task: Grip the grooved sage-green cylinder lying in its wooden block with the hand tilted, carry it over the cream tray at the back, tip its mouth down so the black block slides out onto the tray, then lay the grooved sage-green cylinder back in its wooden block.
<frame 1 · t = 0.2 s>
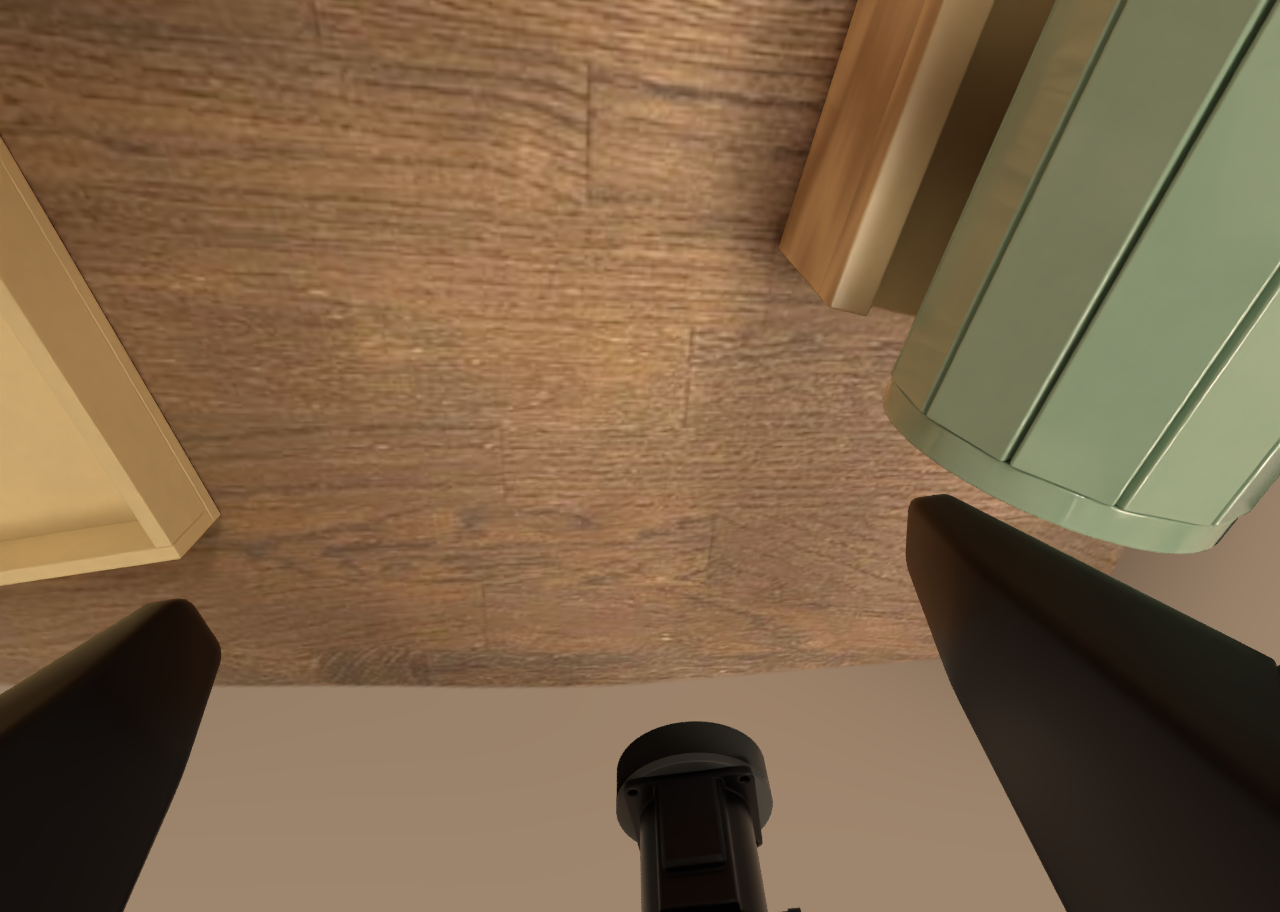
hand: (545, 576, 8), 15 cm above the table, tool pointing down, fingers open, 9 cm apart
grooved sage-green cylinder: (1189, 196, 12), point 8 cm above the table, touching black block, wooden block
wooden block: (977, 148, 20), on the table
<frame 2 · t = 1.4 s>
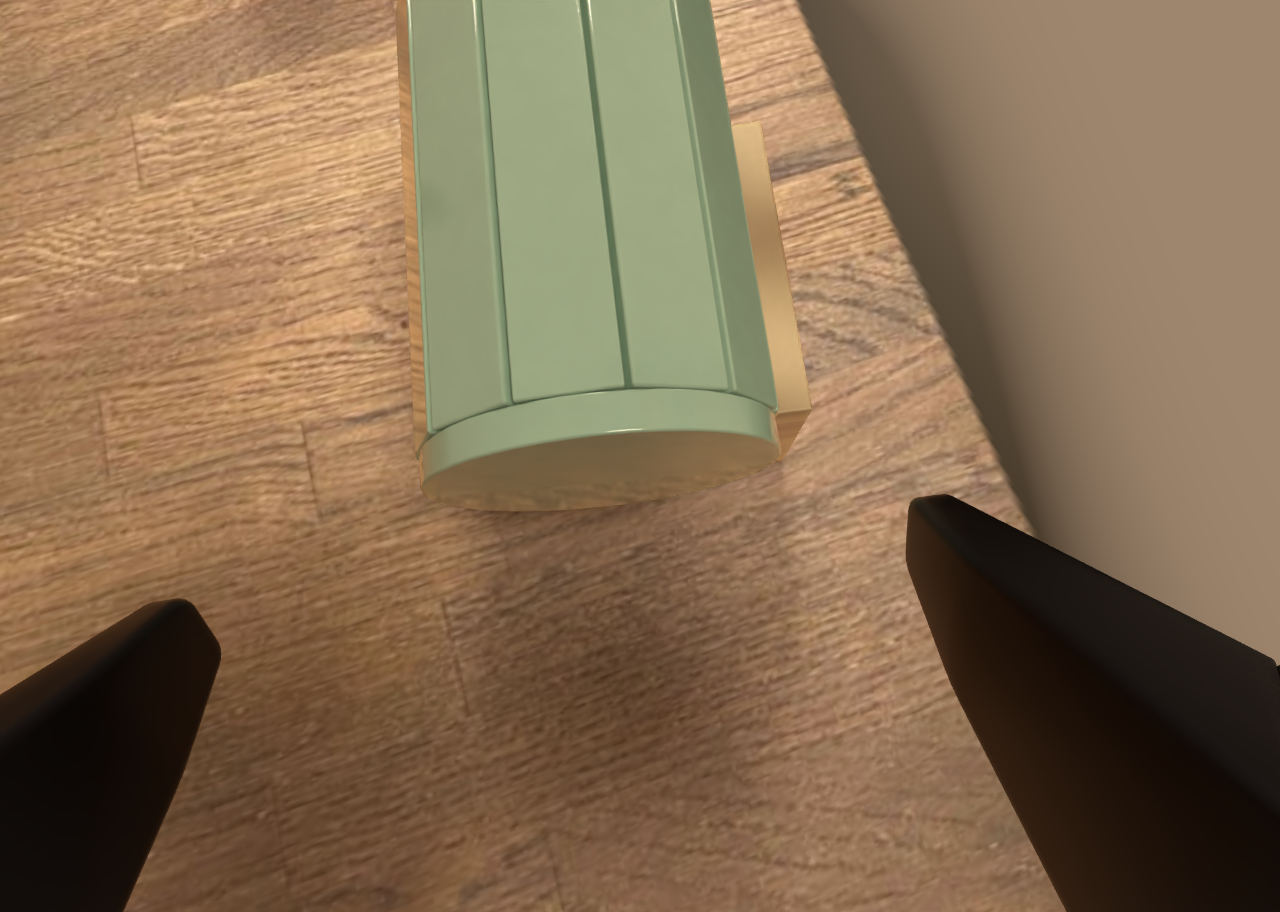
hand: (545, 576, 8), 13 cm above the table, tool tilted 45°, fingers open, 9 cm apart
grooved sage-green cylinder: (578, 233, 15), point 8 cm above the table, touching black block, wooden block
wooden block: (622, 365, 23), on the table
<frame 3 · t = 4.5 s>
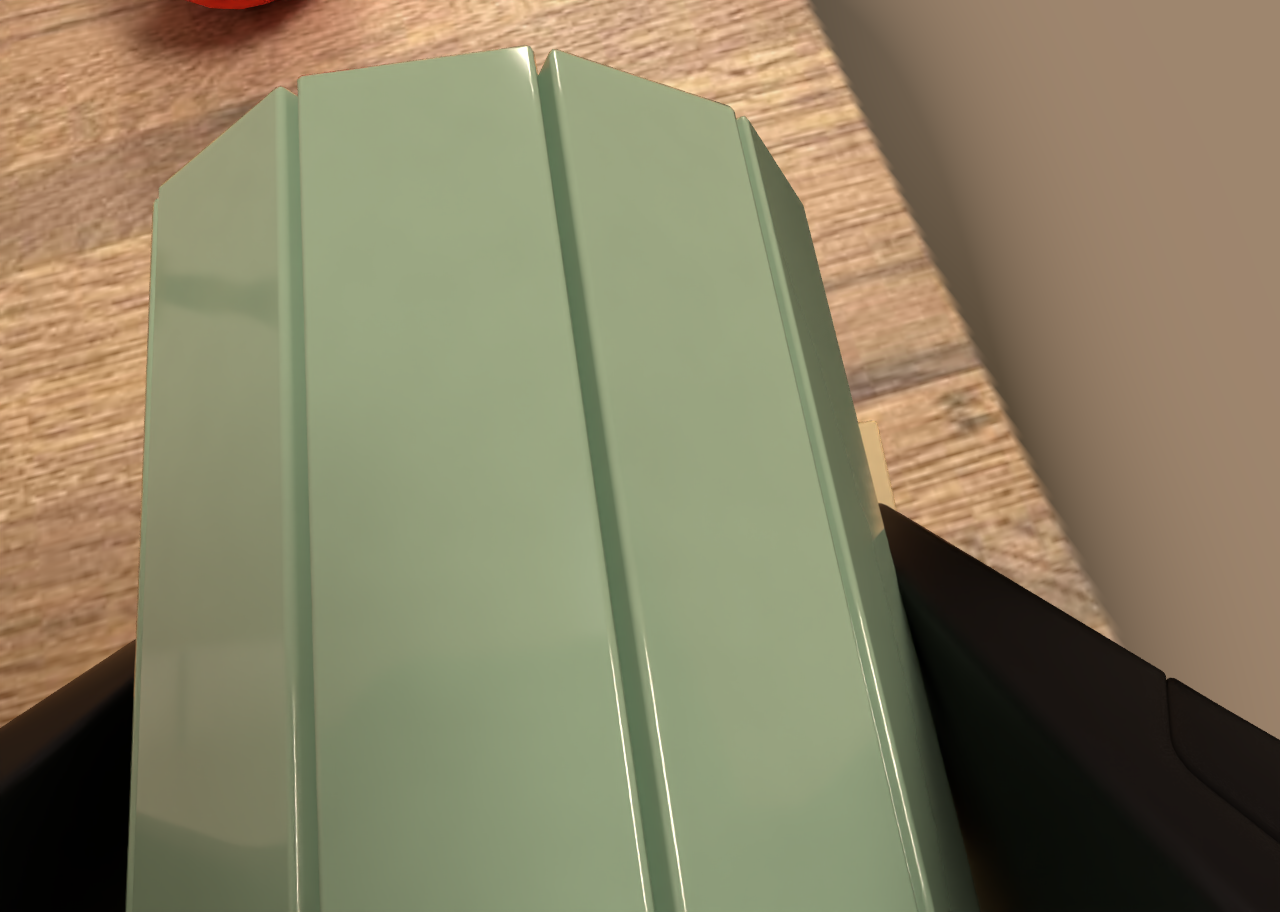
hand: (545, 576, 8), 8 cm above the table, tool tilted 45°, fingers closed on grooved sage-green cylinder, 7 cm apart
grooved sage-green cylinder: (565, 773, 7), point 9 cm above the table, touching black block, wooden block, gripper
wooden block: (634, 697, 15), on the table
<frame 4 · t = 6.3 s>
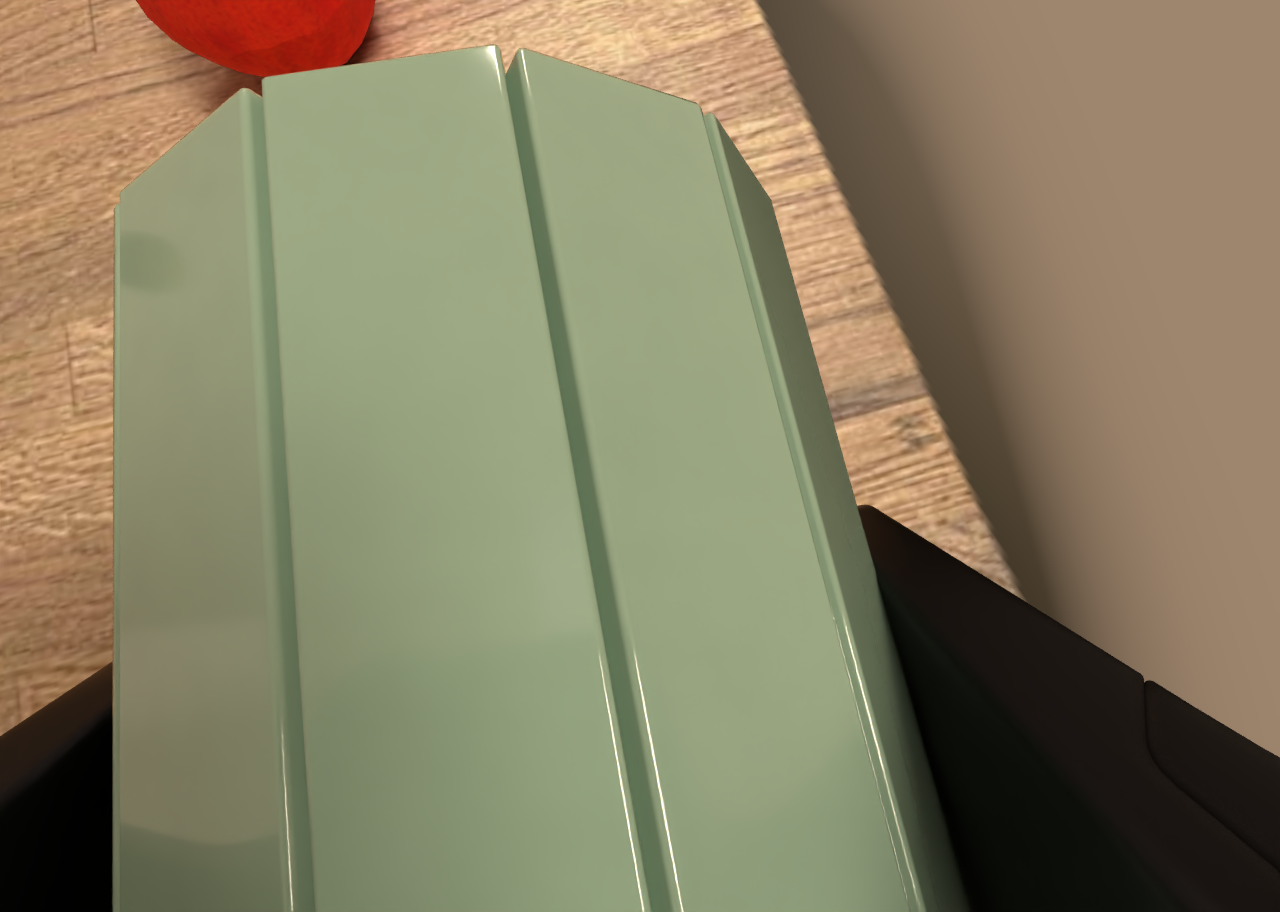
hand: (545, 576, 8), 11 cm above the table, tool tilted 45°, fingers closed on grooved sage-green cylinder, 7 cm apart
grooved sage-green cylinder: (553, 769, 7), point 12 cm above the table, tilted 6°, touching black block, gripper
apple: (317, 44, 25), on the table
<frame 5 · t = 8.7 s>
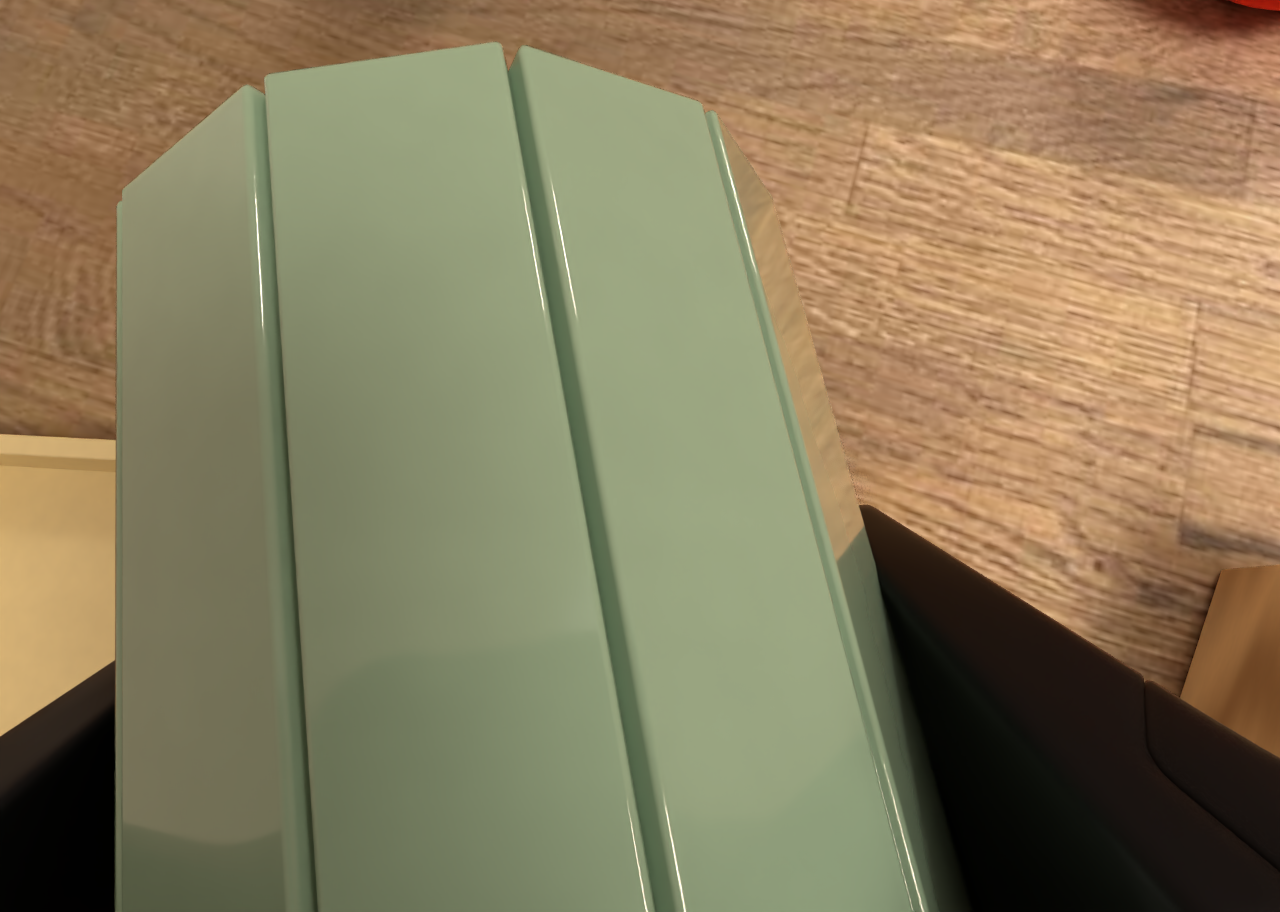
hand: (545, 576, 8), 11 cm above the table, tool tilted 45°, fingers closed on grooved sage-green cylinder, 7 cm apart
tray: (112, 709, 20), on the table
grooved sage-green cylinder: (554, 766, 7), point 12 cm above the table, tilted 6°, touching black block, gripper
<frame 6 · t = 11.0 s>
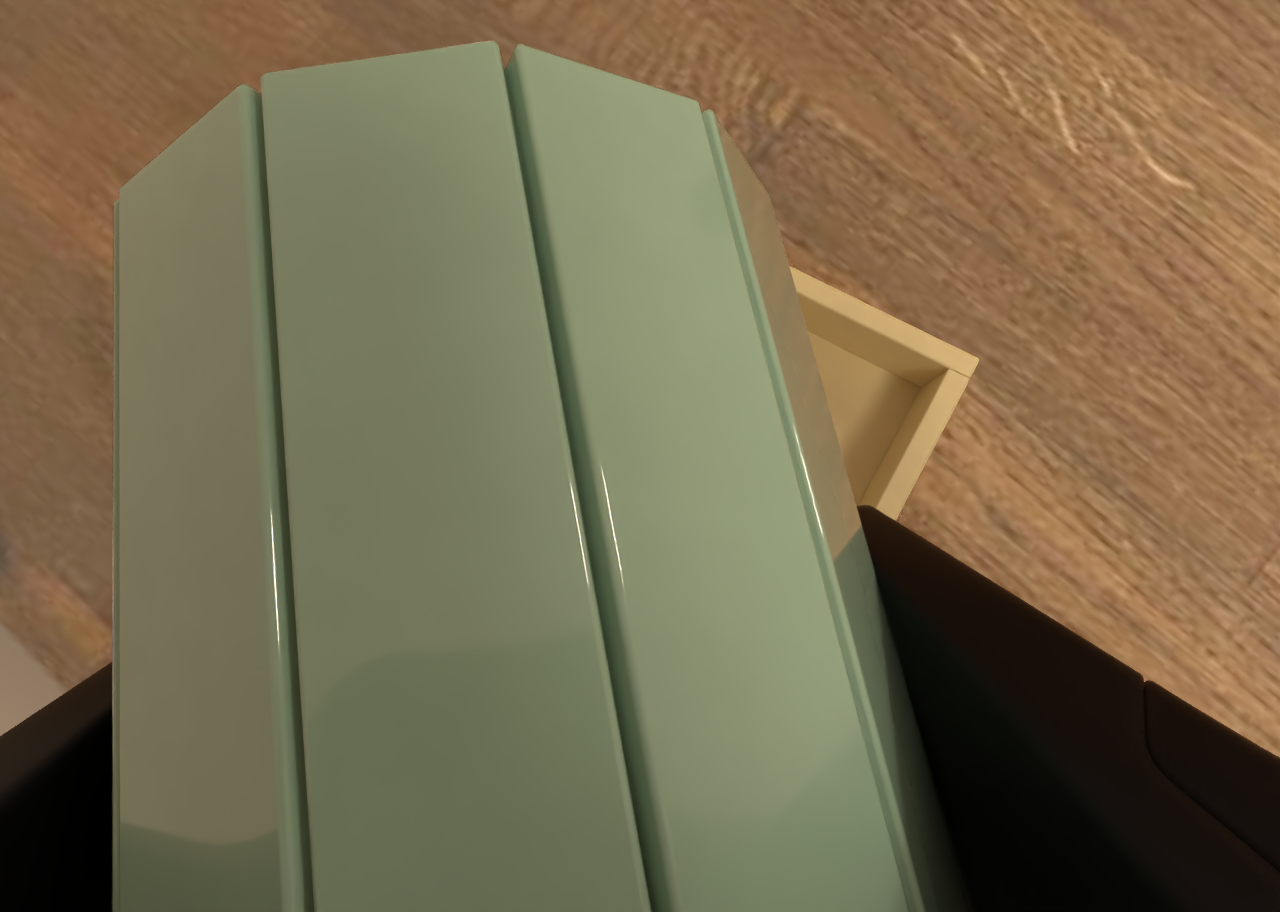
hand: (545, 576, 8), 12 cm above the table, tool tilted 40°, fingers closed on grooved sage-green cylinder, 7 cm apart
tray: (623, 500, 20), on the table
grooved sage-green cylinder: (552, 765, 7), point 13 cm above the table, tilted 9°, touching black block, gripper
when the fingers open (8 cm above the table, at t = 21.9 s): grooved sage-green cylinder stays where it is, resting on wooden block.
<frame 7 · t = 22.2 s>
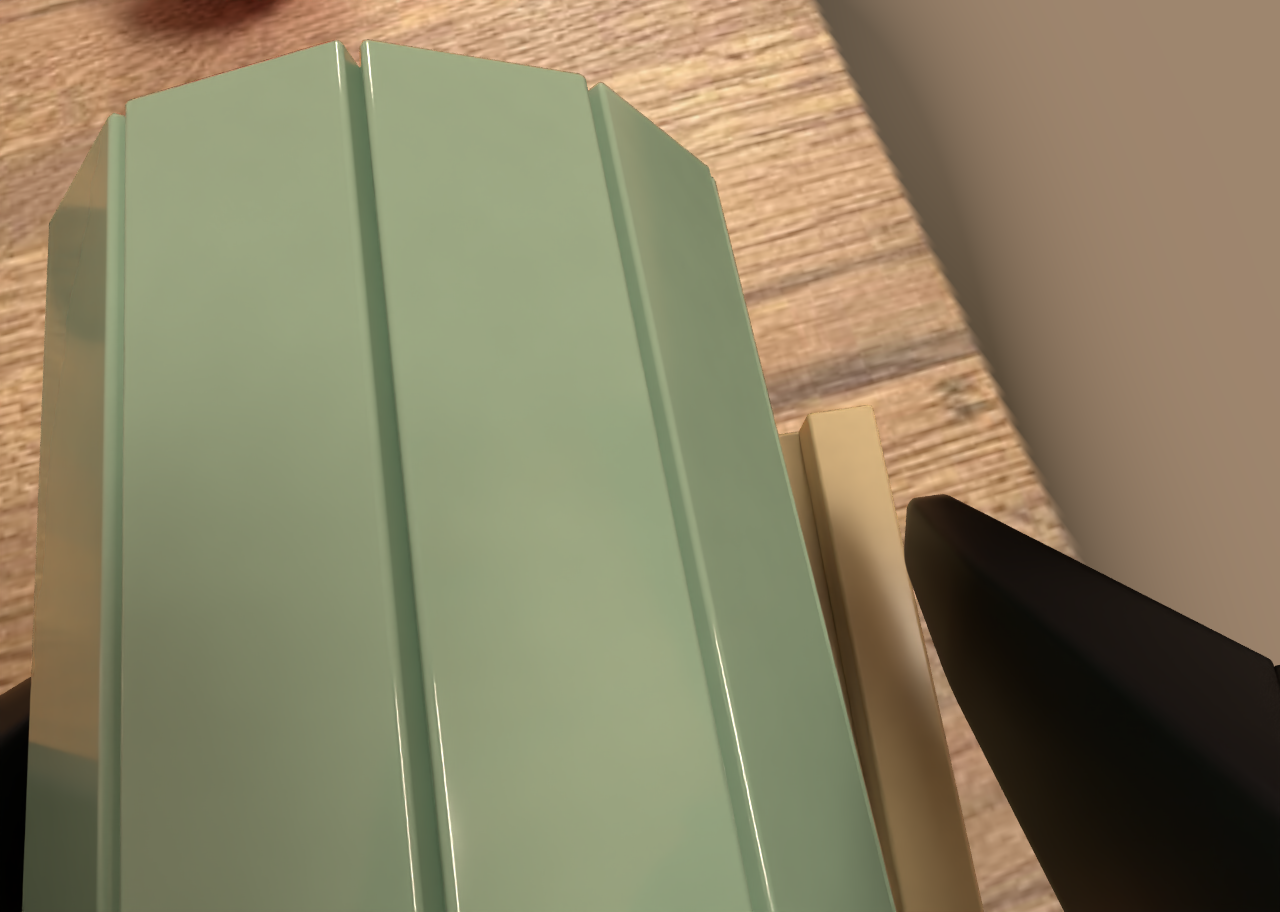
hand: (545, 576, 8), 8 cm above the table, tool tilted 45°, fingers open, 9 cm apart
grooved sage-green cylinder: (495, 764, 7), point 9 cm above the table, touching wooden block, gripper
wooden block: (630, 683, 15), on the table
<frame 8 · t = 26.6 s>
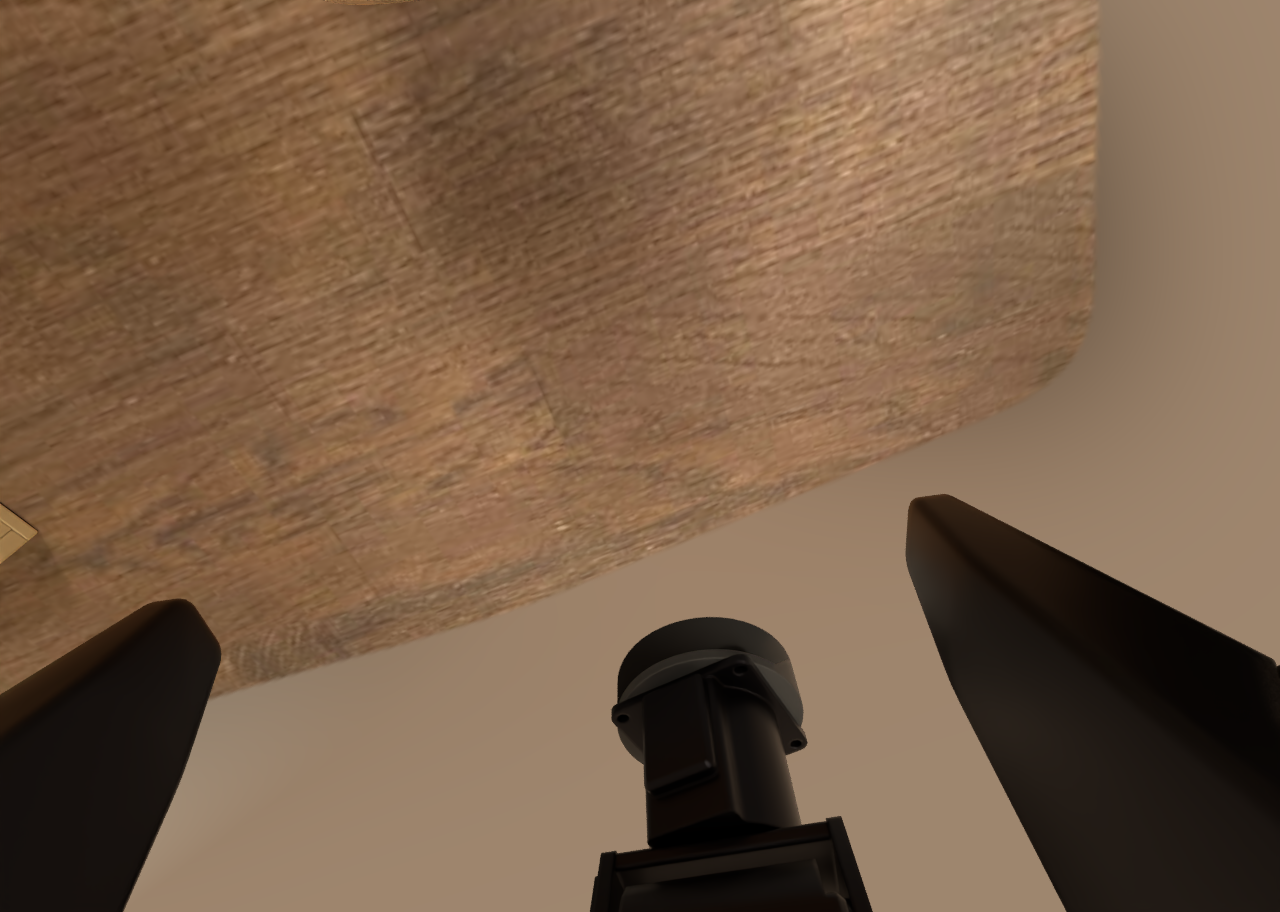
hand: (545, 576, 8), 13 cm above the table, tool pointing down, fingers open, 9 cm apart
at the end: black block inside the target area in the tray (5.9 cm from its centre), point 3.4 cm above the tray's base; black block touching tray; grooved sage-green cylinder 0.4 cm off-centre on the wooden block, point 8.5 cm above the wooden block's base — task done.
